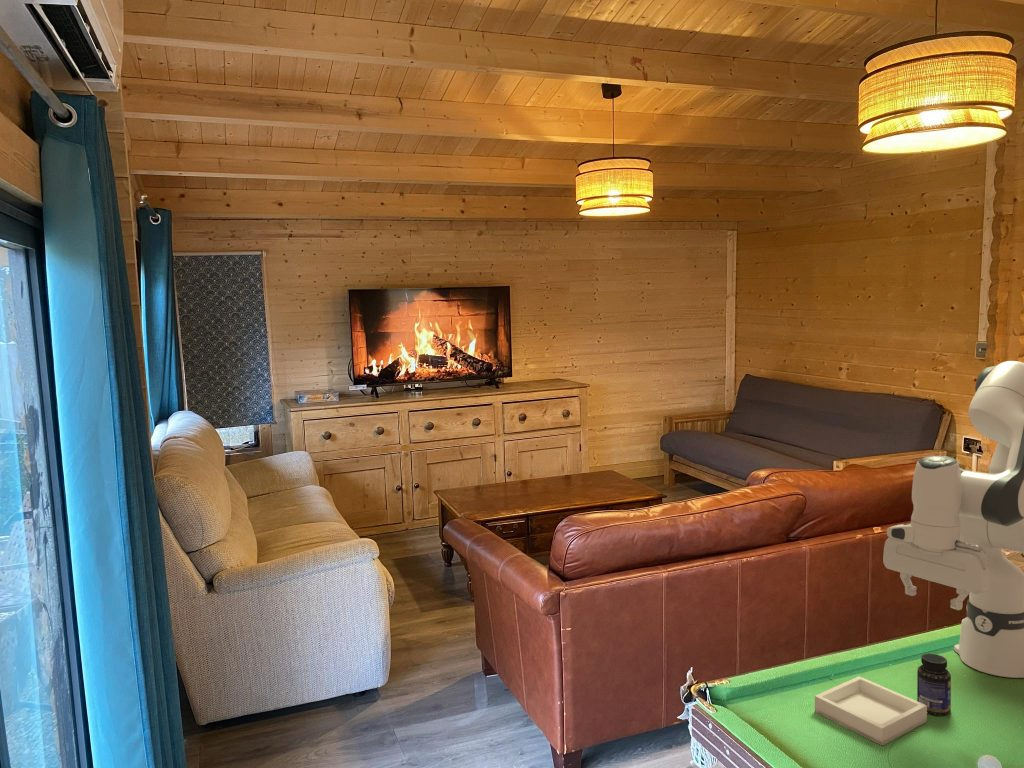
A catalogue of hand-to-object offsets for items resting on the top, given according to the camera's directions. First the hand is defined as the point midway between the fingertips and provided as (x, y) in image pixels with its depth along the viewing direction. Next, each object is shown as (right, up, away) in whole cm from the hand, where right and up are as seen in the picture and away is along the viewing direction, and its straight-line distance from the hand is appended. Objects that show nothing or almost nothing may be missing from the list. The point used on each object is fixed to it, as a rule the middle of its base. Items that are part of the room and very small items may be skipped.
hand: (932, 601), depth 152 cm
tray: (-13, -24, 0) cm, 27 cm away
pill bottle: (+1, -23, +2) cm, 23 cm away
